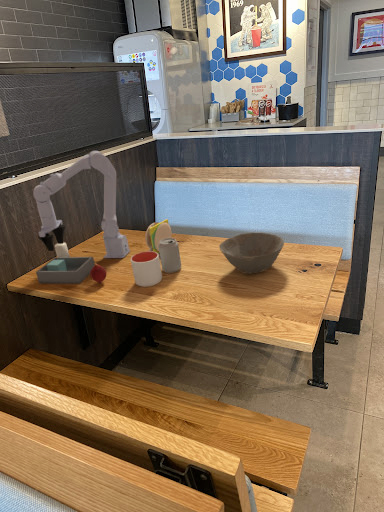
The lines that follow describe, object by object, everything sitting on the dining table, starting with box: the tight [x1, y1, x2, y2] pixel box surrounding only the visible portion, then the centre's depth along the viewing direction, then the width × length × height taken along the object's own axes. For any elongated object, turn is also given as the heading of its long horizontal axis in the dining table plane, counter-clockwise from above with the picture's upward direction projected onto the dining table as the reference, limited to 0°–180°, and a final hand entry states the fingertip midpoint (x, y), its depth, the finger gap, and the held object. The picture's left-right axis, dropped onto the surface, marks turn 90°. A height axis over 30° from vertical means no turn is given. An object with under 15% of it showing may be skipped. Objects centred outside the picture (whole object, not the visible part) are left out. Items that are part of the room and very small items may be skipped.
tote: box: [35, 256, 95, 285], centre depth 156 cm, size 18×14×5 cm
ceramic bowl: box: [218, 232, 285, 274], centre depth 141 cm, size 22×23×10 cm
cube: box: [46, 260, 67, 271], centre depth 157 cm, size 5×5×5 cm
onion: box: [89, 262, 108, 284], centre depth 146 cm, size 6×6×8 cm
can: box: [158, 237, 182, 274], centre depth 149 cm, size 8×8×12 cm
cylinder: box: [53, 241, 71, 257], centre depth 173 cm, size 5×5×7 cm
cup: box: [130, 250, 163, 288], centre depth 142 cm, size 10×10×10 cm
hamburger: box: [144, 218, 173, 254], centre depth 169 cm, size 12×8×12 cm
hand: (56, 247), depth 162 cm, fingers open, 7 cm apart
